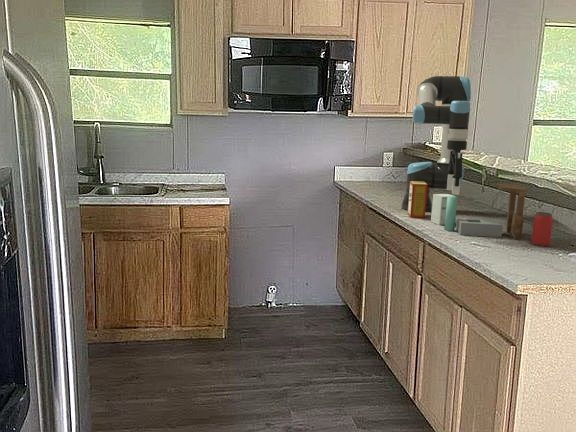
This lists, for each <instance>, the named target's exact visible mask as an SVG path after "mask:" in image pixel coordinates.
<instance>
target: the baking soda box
mask: <svg viewBox="0 0 576 432" xmlns="http://www.w3.org/2000/svg"><path fill="white" fill-rule="evenodd" d="M426 197H427V184H426V183H425V182H418V181H410V188H409V202H408V210H407V215H408V217H409V218H410V219H413V218H414V219H425V218H426V211H425V210H426Z"/></svg>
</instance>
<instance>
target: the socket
mask: <svg viewBox="0 0 576 432" xmlns="http://www.w3.org/2000/svg"><path fill="white" fill-rule="evenodd" d="M455 225H456V226H455V227H456V228H455V230H456V232H457V233H458V234H459V235H460V236H475V237H489V238H491V237H492V238H493V237H494V238H502V237H503V235H502V234H503V229H504V225H503V223H501V222H500V221H499V220H497V219H490V218H489V219H485V218H484V219H483V218H467V217H456V223H455Z"/></svg>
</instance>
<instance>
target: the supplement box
mask: <svg viewBox="0 0 576 432" xmlns="http://www.w3.org/2000/svg"><path fill="white" fill-rule="evenodd" d="M432 195H433V197H432V210H431V217H430V222H431V223H434V224H436V225H439V226H441V225H444V226H445V217H446V206H447V196H455V197H457V195H453V194H448V193H434V194H432Z"/></svg>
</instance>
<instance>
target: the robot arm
mask: <svg viewBox="0 0 576 432" xmlns="http://www.w3.org/2000/svg"><path fill="white" fill-rule="evenodd" d="M471 95H472V89H471V79H470V78H469V77H467V76H461V75H457V76H456V75H453V76H452V75H450V76H449V75H443V76H442V75H435V76H430V77H428V78H426V79H425V80H423V81H422V82H421V83H420V84H418V87H417V89H416V97H417V105H414V106H413V110H412V122H413V123H414V124H421V125H423V124H425V125H430V124H431V125H442V136H441V137H442V138H441V147H440V149H441V150H440V158H439V159H438V160H437V161H436V165H435V164H434V165H433V162H432V161H420V162H413V163H410V164H409V165H408V166H407V172H406V187H405V194H404V197H403V199H402V202H401V209H403V210H406V211H408V202H409V188H410V181H418V182H425V183H426V184H427V197H426V210H425V212H430V211H431V212H432V203H433V201H432V198H431V193H430V192H431V190H446V191H451V195H453V196H457V195H458V196H459V195H460V190H461V187H462V183H463V179H464V174H465V166H463V153H462V152H461V151H467V145H468V141H467V140H468V136H469V122H470V113H471V100H472V99H471V97H472V96H471ZM436 102H441V105H436Z"/></svg>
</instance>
